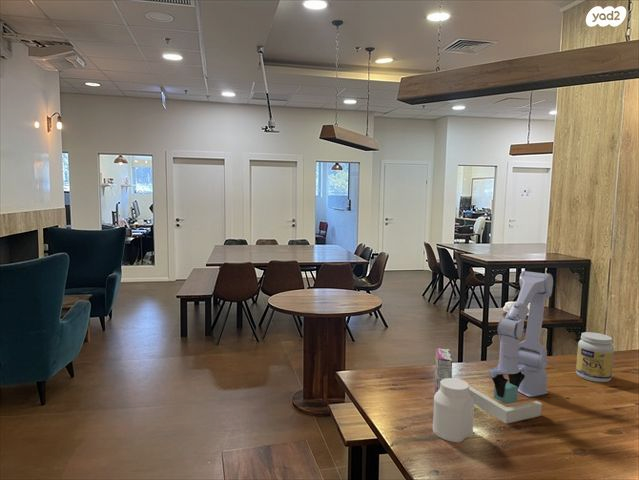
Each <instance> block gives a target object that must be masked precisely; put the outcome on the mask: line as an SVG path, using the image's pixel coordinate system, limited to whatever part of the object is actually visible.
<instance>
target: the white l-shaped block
mask: <svg viewBox="0 0 639 480" xmlns="http://www.w3.org/2000/svg"><path fill="white" fill-rule="evenodd" d="M469 394H470V396H471V397H472V399H473V400H474V406H476V407H478V408H480V409H482V411H485V412H486V413H487V414H490V415H491V416H493V417H494V418H496V419H497V420H499V421H501V422H502V423H504V424H506V425H507V424H511V423H515V422H519V421H524V420H528V419H533V418H536V417H541V416H542V409H543V403H541V402H540V401H538V400H535V401H531V402H527V403H522V404H517V405H513V406H508V407H507V406H505V405H503V404H501V402H497V401H496V400H494V399H493V398H491V397H489V396H487V395H486V394H484V393H482V392H480V391H478V390H477V389H475V388H473V387H472V386H470V385H469Z"/></svg>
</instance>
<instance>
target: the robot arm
mask: <svg viewBox="0 0 639 480" xmlns="http://www.w3.org/2000/svg"><path fill="white" fill-rule="evenodd" d="M518 282H519V287H520V290H519V293H518V297H517V300H516V301H513V302H512V303H511V304H510V306H509V308H508V310H507V312H506V314H505V317H504V318H501V319H499V321H498V324H497V334H498V340H499V356H498V358H499V359H498V364H496V366H495V367H494V368H492V369H488V376H489V377H490V378H491V379H492V381H493V384H494V388H496V392H497V396H499V397H501V398H503V396H504V390H505V385H506V383H507V382H508V381H509V383H511V384H513V385H515V386H517V387H518V393H520V394H523V395H524V396H526V397H528V398H533V397H537V396H543V395H546V394H547V395H548V394H549V392H548V391H547V386H548V385H547V384H548V373H547V370H546V368H547V363H548V350H547V348H546V347H545V346H544V345H543V344H542V343H541V342H540V341H541V335H542V329H543V328H542V326H543V319H544V313H545V312H544V311H545V303H546V299H547V298H550V297H552V294H553V288H554V287H553V286H554V278H553V276H552V274H551V273H545V272H544V273H542V272H534V271H527V270H523V271H522V272H521V273H520V275H519V281H518ZM526 318H527V322H526V330H525V335H524V336H525V337H524V339H523V340H522V341H520V339H521V338H522V336H523V332H524V328H525V327H524V326H525V323H524V322H525V321H526ZM504 375H505V376H506V375H507V376H508V378H506V377H505V376H504Z"/></svg>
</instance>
